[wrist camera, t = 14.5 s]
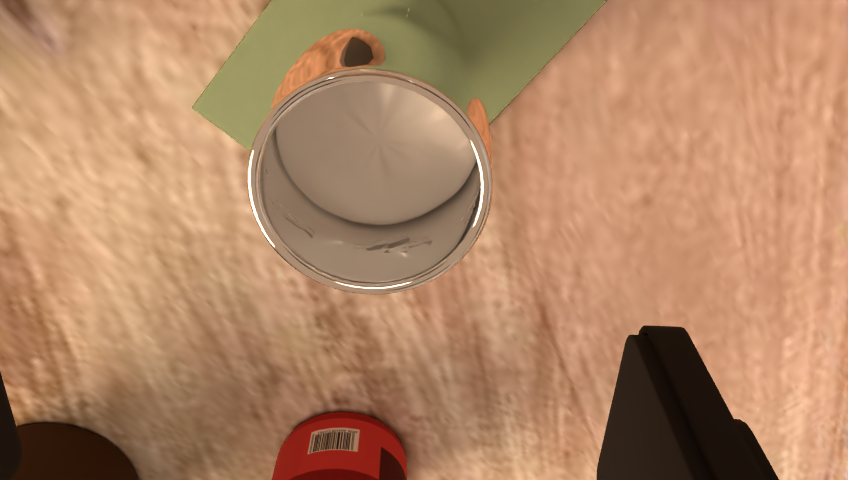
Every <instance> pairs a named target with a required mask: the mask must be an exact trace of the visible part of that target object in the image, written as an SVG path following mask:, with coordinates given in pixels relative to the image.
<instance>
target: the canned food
mask: <svg viewBox="0 0 848 480" xmlns="http://www.w3.org/2000/svg"><path fill="white" fill-rule="evenodd" d="M272 480H407V460H406V457H405V453H404V450H403V448H402V445H401V443H400V441H399V439H398V438H397V436H396V435H395V433H394V432H393V431H392V430H391V429H390V428H389V427H387V426H386V425H385V424H383V423H382V422H380V421H378V420H376V419H374V418H372V417H369V416H366V415H362V414H358V413H351V412H333V413H327V414H322V415H319V416H316V417H313V418H311V419H309V420H307V421H305V422H303V423H302V424H300V425H299V426H298V427H297V428H296V429H294V430H293V432H292V433H291V434H290V435H289V437H288V438H287V439H286V441H285V442H284V444H283V445H282V447H281V449H280V451H279V453H278V457H277V461H276V465H275V469H274V473H273V477H272Z"/></svg>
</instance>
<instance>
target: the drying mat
mask: <svg viewBox="0 0 848 480" xmlns="http://www.w3.org/2000/svg"><path fill="white" fill-rule="evenodd" d="M345 1H346V0H271V1H270V3H269V4H268V5H267V7H266V8H265V9H264V11H263V12H262V14H261V15H260V16H259V18H258V19H257V20H256V22H255V23H254V24H253V26H252V27H251V28H250V30H249V31H248V32H247V34H246V35H245V36H244V38H243V39H242V41H241V42H240V43H239V45H238V46H237V47H236V49H235V50H234V51H233V53H232V54H231V55H230V57H229V58H228V59H227V61H226V62H225V63H224V65H223V66H222V68H221V69H220V70H219V72H218V73H217V74H216V76H215V77H214V78H213V80H212V81H211V82H210V84H209V85H208V86H207V88H206V89H205V90H204V92H203V93H202V94H201V96H200V97H199V99H198V100H197V101H196V103H195V104H194V105H193V107H192V108H193V109H194V110H195V111H197V112H198V113H199V114H201V115H202V116H203V117H205V118H206V119H207V120H209V121H210V122H212V123H213V124H214V125H216V126H217V127H218V128H220V129H221V130H222V131H224V132H225V133H226V134H228V135H229V136H230V137H232V138H233V139H234V140H236V141H237V142H238V143H240V144H241V145H242V146H244V147H245V148H246V149H248V150H249V151H251V147H252V144H253V141H254V139H255V136H256V134H257V132H258V130H259V128H260V126H261V123H262V120H263V117H264V114H265V111H266V109H267V106H268V103H269V101H270V98H271V96H272V94H273V92H274V90H275V88H276V87H277V85H278V83H279V81H280V79H281V77H282V75H283V74H284V72H285V71H286V69H287V68H288V67H289V65H290V64H291V63H292V62H293V60H294V59H295V58H296V57H297V55H298V54H299V53H300V52H301V51H302V49H303V48H304V47H305V46H306V45H308V44H309V43H310V42H311V41H312V40H313V39H315V38H316V37H317V36H319V35H320V34H322V33H323V32H325V31H327V28H328V26H329V23H330V21H331V19H332V17H333V16H334V14H335V13H336V11H337V10H338V9H339V7H340V6H341V5H342V4H343V3H344V2H345ZM437 1H438V2H439V3H440V4H441V5H442V6H443V7H444V8H445V10H446V11H447V12H448V14H449V15H450V17H451V18H452V20H453V22H454V24H455V27H456V29H457V32H458V36H459V40H460V48H461V56H462V58H463V59H464V60H465V62H466V63H467V64H468V66H469V67H470V69H471V71H472V73H473V74H474V76H475V78H476V81H477V83H478V86H479V88H480V91H481V94H482V97H483V100H484V103H485V106H486V110H487V115H488V121H489V124H490V123H491V122H492V121H493V120H494V119H495V118H496V117H497V116H498V115H499V114H500V113H501V112H502V110H503V109H504V108H505V107H506V106H507V105H508V104H509V103H510V102H511V101H512V100H513V99H514V98H515V97H516V96H517V95H518V94H519V93H520V92H521V91H522V89H523V88H524V87H525V86H526V85H527V84H528V83H529V82H530V81H531V80H532V79H533V78H534V77H535V76H536V75H537V74H538V73H539V72H540V71H541V69H542V68H543V67H544V66H545V65H546V64H547V63H548V62H549V61H550V60H551V59H552V58H553V57H554V56H555V55H556V54H557V53H558V52H559V51H560V49H561V48H562V47H563V46H564V45H565V44H566V43H567V42H568V41H569V40H570V39H571V38H572V37H573V36H574V35H575V34H576V33H577V32H578V31H579V29H580V28H581V27H582V26H583V25H584V24H585V23H586V22H587V21H588V20H589V19H590V18H591V17H592V16H593V15H594V14H595V13H596V12H597V11H598V9H599V8H600V7H601V6H602V5H603V4H604V3H605V2H606V1H607V0H437Z"/></svg>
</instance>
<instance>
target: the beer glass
mask: <svg viewBox="0 0 848 480" xmlns="http://www.w3.org/2000/svg"><path fill="white" fill-rule="evenodd" d="M247 187H248V195H249V200H250V204H251V208H252V211H253V214H254V216H255V219H256V221H257V223H258V225H259V227H260V229H261V231H262V233H263V234H264V236H265V238H266V239H267V240H268V242H269V243H270V245H271V246H272V247H273V248H274V249H275V251H276V252H277V253H278V254H279V255H280V256H281V257H282V258H283V259H284V260H285V261H286V262H288V263H289V264H290V265H291V266H293V267H294V268H295V269H297V270H298V271H299V272H301V273H302V274H304V275H306V276H307V277H309V278H311V279H313V280H315V281H317V282H319V283H322V284H324V285H326V286H329V287H332V288H335V289H339V290H343V291H347V292H353V293H360V294H388V293H396V292H401V291H405V290H409V289H413V288H416V287H419V286H421V285H424V284H426V283H428V282H430V281H433V280H434V279H436V278H438V277H440V276H441V275H443V274H444V273H446V272H447V271H449V270H450V269H451V268H453V267H454V266H455V265H456V264H457V263H458V262H459V261H461V260H462V259H463V257H464V256H465V255H466V254H467V253H468V252H469V251H470V249H471V248H472V247H473V245H474V244H475V242H476V241H477V239H478V238H479V236H480V234H481V232H482V230H483V228H484V226H485V223H486V221H487V218H488V215H489V211H490V207H491V202H492V194H493V177H492V168H491V136H490V129H489V121H488V115H487V110H486V106H485V103H484V100H483V97H482V94H481V91H480V88H479V86H478V83H477V81H476V78H475V76H474V74H473V73H472V71H471V69H470V67H469V66H468V64H467V63H466V62H465V60H464V59H463V58H462V56H461V48H460V40H459V36H458V32H457V29H456V27H455V24H454V22H453V20H452V18H451V17H450V15H449V14H448V12H447V11H446V10H445V8H444V7H443V6H442V5H441V4H440V3H439V2H438V1H437V0H346V1H345V2H344V3H343V4H342V5H341V6H340V7H339V9H338V10H337V11H336V13H335V14H334V16H333V17H332V19H331V21H330V23H329V26H328V28H327V31H325V32H323V33H322V34H320V35H319V36H317V37H316V38H315V39H313V40H312V41H311V42H310V43H309V44H308V45H306V46H305V47H304V48H303V49H302V51H301V52H300V53H299V54H298V55H297V57H296V58H295V59H294V60H293V62H292V63H291V64H290V65H289V67H288V68H287V69H286V71H285V72H284V74H283V75H282V77H281V79H280V81H279V83H278V85H277V87H276V88H275V90H274V92H273V94H272V96H271V98H270V101H269V103H268V106H267V109H266V111H265V114H264V117H263V120H262V123H261V126H260V128H259V130H258V132H257V134H256V136H255V139H254V141H253V144H252V147H251V151H250V155H249V160H248V167H247Z"/></svg>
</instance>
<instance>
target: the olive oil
mask: <svg viewBox="0 0 848 480" xmlns="http://www.w3.org/2000/svg"><path fill="white" fill-rule="evenodd" d="M17 431H18V434H19V438H20V441H21V445H22V458H21V463H20V466H19V468H18V470H17V472H16V474H15V476H14V477H13V479H12V480H138V478H137V475H136V473H135V471H134V469H133V467H132V465H131V464H130V462H129V461H128V460H127V458H126V457H125V456H124V455H123V454H122V453H121V452H120V451H119V450H118V449H117V448H116V447H114V446H113V445H112V444H110V443H109V442H107V441H106V440H104V439H103V438H101V437H99V436H97V435H95V434H93V433H91V432H88V431H86V430H83V429H80V428H77V427H73V426H69V425H63V424H54V423H38V424H30V425H25V426H21V427H18V428H17Z"/></svg>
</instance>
